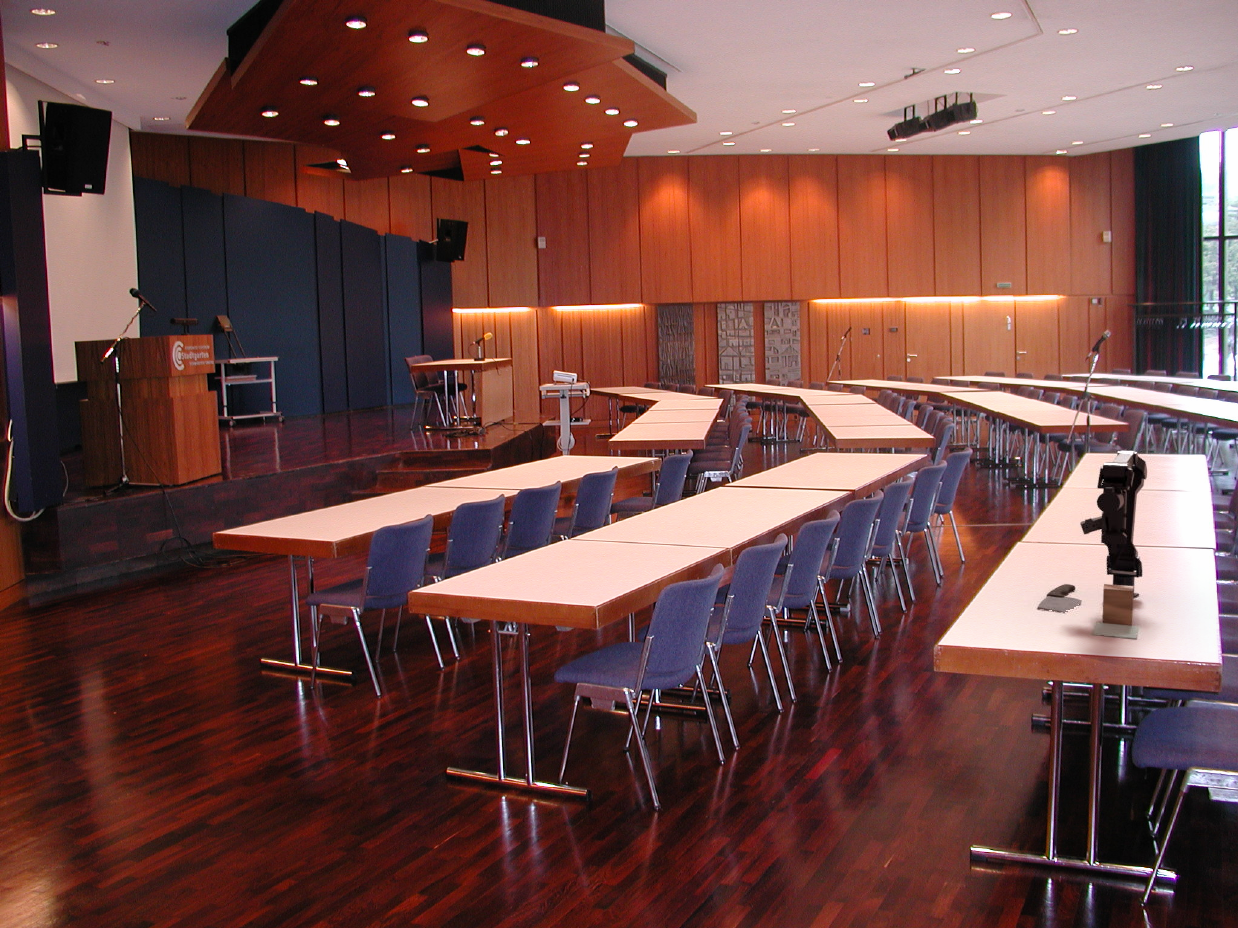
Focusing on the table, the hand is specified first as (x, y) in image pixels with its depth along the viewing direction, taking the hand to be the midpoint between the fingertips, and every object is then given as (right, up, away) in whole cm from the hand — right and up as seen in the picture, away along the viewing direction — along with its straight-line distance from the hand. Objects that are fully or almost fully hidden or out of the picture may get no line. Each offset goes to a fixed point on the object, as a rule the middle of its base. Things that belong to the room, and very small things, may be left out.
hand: (1112, 564), depth 288 cm
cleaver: (-8, -12, +13) cm, 20 cm away
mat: (-8, -15, -19) cm, 26 cm away
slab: (-4, -14, -12) cm, 19 cm away
